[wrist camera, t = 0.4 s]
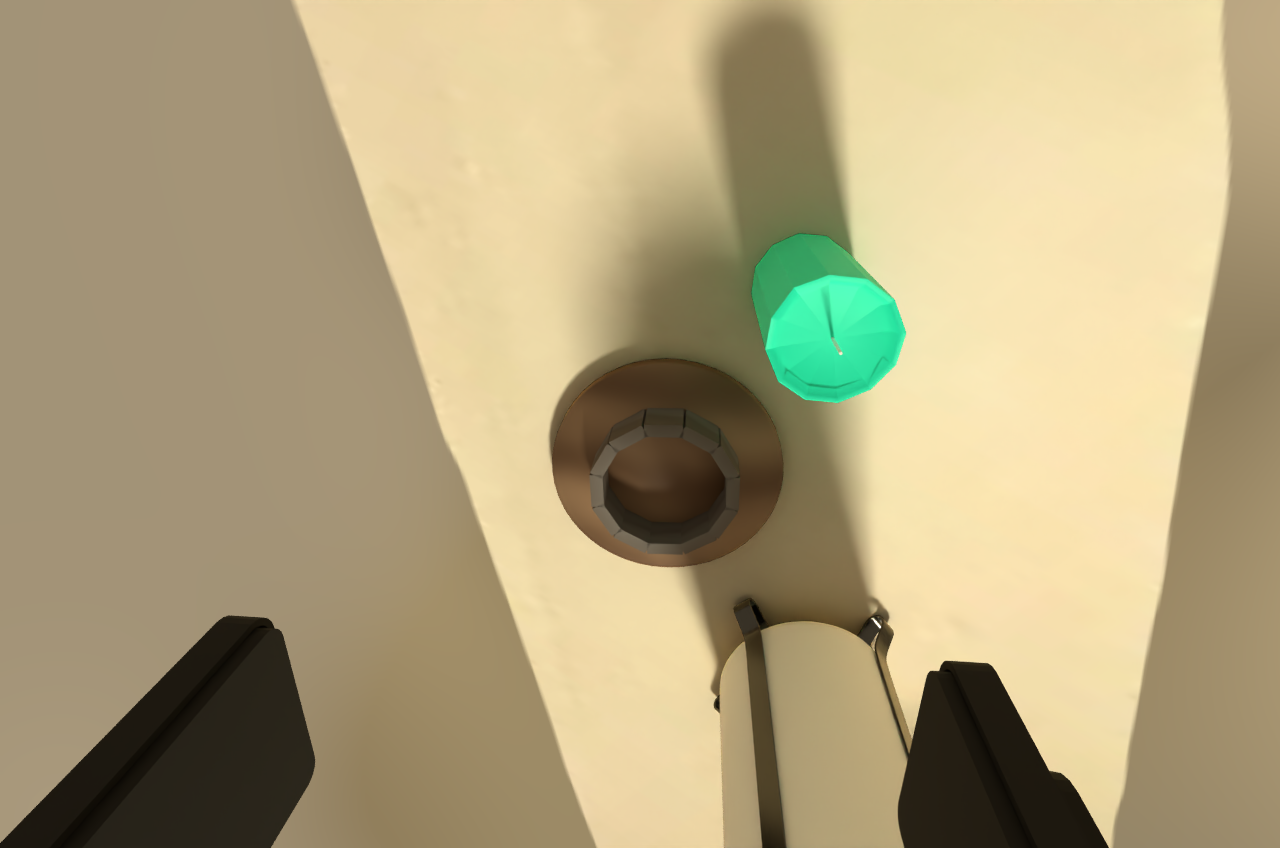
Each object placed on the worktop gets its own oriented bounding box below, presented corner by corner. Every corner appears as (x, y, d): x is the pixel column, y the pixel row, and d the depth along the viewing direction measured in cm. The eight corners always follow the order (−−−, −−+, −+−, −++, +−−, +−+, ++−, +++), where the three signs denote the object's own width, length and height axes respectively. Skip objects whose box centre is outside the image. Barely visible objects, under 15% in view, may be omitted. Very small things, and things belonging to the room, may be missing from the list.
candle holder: (546, 358, 43) (533, 378, 39) (789, 359, 41) (796, 380, 38) (563, 555, 49) (553, 586, 46) (774, 561, 48) (779, 594, 44)
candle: (853, 223, 38) (914, 271, 27) (859, 327, 40) (916, 408, 29) (745, 242, 39) (761, 295, 28) (756, 342, 41) (775, 426, 30)
